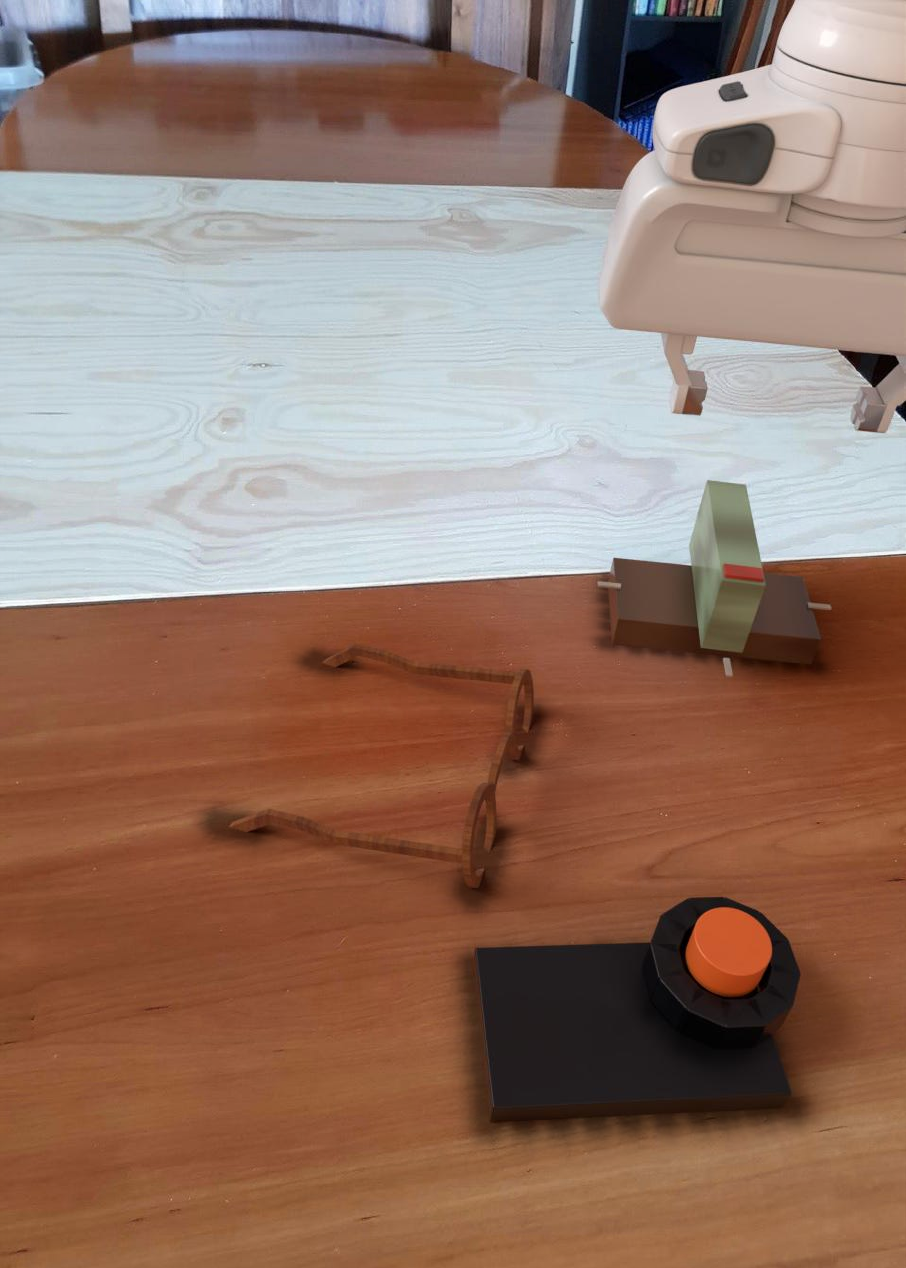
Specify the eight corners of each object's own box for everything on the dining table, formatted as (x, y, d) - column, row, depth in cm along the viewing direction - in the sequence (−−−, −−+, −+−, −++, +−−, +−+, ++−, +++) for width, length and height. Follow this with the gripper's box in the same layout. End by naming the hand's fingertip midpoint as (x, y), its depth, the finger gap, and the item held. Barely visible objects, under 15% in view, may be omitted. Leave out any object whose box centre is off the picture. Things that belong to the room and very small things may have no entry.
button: (748, 929, 46) (759, 905, 45) (770, 996, 44) (783, 973, 42) (676, 931, 46) (685, 907, 44) (695, 999, 43) (705, 976, 42)
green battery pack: (688, 545, 68) (707, 476, 65) (726, 549, 68) (747, 480, 65) (700, 648, 61) (722, 576, 57) (742, 653, 61) (767, 581, 57)
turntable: (795, 575, 72) (809, 537, 70) (838, 726, 61) (856, 687, 59) (586, 554, 72) (594, 515, 70) (593, 702, 61) (602, 661, 59)
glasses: (475, 912, 50) (485, 847, 46) (218, 839, 52) (210, 771, 49) (534, 721, 59) (547, 656, 56) (316, 666, 61) (315, 599, 58)
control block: (749, 944, 50) (772, 894, 47) (806, 1117, 44) (836, 1070, 41) (468, 953, 48) (476, 902, 45) (487, 1133, 42) (497, 1086, 39)
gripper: (1076, 134, 48) (959, 407, 57) (624, 91, 48) (579, 371, 57) (1134, 180, 43) (996, 470, 52) (632, 133, 43) (582, 430, 52)
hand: (775, 418), depth 55 cm, fingers open, 8 cm apart
